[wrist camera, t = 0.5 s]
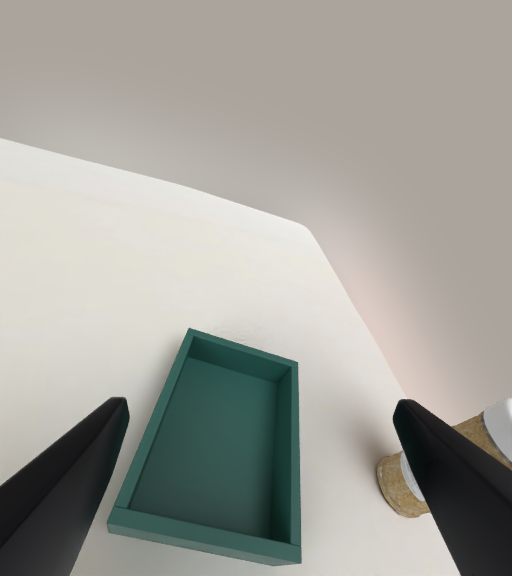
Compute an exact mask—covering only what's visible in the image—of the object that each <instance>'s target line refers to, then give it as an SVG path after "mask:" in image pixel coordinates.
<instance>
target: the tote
mask: <svg viewBox="0 0 512 576" xmlns="http://www.w3.org/2000/svg"><path fill="white" fill-rule="evenodd" d="M107 526H108V531H109V533H113V534H118V535H123V536H128V537H133V538H138V539H143V540H147V541H152V542H157V543H162V544H167V545H172V546H177V547H182V548H187V549H192V550H197V551H202V552H207V553H212V554H217V555H222V556H227V557H232V558H236V559H241V560H246V561H251V562H256V563H261V564H266V565H271V566H281V565H291V564H301V563H302V559H301V508H300V449H299V391H298V362H296V361H292V360H289V359H286V358H283V357H280V356H277V355H273V354H270V353H267V352H264V351H261V350H258V349H254V348H251V347H248V346H245V345H242V344H238V343H235V342H232V341H229V340H226V339H223V338H219V337H216V336H213V335H210V334H207V333H204V332H200V331H197V330H194V329H191V328H189V329H188V331H187V333H186V336H185V338H184V340H183V343H182V345H181V348H180V350H179V352H178V355H177V357H176V359H175V362H174V364H173V367H172V369H171V371H170V374H169V376H168V378H167V381H166V383H165V386H164V388H163V390H162V393H161V395H160V397H159V400H158V402H157V404H156V407H155V409H154V412H153V414H152V416H151V419H150V421H149V423H148V426H147V428H146V431H145V433H144V435H143V438H142V440H141V442H140V445H139V447H138V450H137V452H136V454H135V457H134V459H133V461H132V464H131V466H130V469H129V471H128V473H127V476H126V478H125V480H124V483H123V485H122V487H121V490H120V492H119V495H118V497H117V499H116V502H115V504H114V507H113V509H112V511H111V514H110V516H109V518H108V521H107Z"/></svg>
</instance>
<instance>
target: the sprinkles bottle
mask: <svg viewBox="0 0 512 576" xmlns="http://www.w3.org/2000/svg"><path fill="white" fill-rule="evenodd" d="M452 428H453V429H455V430H456V431H458V432H459V433H460V434H462V435H463V436H465V437H466V438H467V439H469V440H470V441H472V442H473V443H474V444H476V445H477V446H479V447H480V448H481V449H483V450H484V451H486V452H487V453H488V454H490V455H491V456H493V457H494V458H495V459H497V460H498V461H500V462H501V463H502V464H504V465H505V466H507V467H508V468H509V469H511V470H512V397H510V398H506V399H504V400H502V401H500V402H498V403H495V404H493V405H491V406H489V407H488V408H486V409H485V411H483V412H482V413H481V414H479V415H478V416H476V417H473V418H471V419H469V420H467V421H464V422H462V423H460V424H458V425H456V426H452ZM377 477H378V481H379V485H380V488H381V490H382V492H383V495H384V496H385V498H386V500H387V501H388V503H389V504H390V505H391V506H392V507H393V508H394V509H395V510H396V511H397V512H398V513H399V514H401V515H403V516H405V517H409V518H415V517H419V516H420V515H421V514H424V513H428V512H430V510H429V508H428V505H427V503H426V501H425V499H424V497H423V495H422V493H421V491H420V489H419V487H418V485H417V482H416V480H415V478H414V476H413V474H412V471H411V469H410V466H409V464H408V461H407V458H406V456H405V453H404V450H403V451H401V452H399V453H397V454H394V455H392V456H388V457H385V458H383V459H382V460H381V461H380V463H379V464H378V468H377Z"/></svg>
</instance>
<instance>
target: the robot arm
mask: <svg viewBox="0 0 512 576" xmlns="http://www.w3.org/2000/svg"><path fill="white" fill-rule="evenodd" d="M129 418H130V415H129V410H128V405H127V400H126V398H125V397H111V398H110V399H108V400H107V401H106V402H104V403H103V404H102V405H101V406H99V407H98V408H97V409H96V410H94V411H93V412H92V413H91V414H89V415H88V416H87V417H86V418H84V419H83V420H82V421H81V422H79V423H78V424H77V425H76V426H74V427H73V428H72V429H71V430H69V431H68V432H67V433H66V434H64V435H63V436H62V437H61V438H59V439H58V440H57V441H56V442H55V443H53V444H52V445H51V446H50V447H48V448H47V449H46V450H45V451H43V452H42V453H41V454H40V455H38V456H37V457H36V458H35V459H33V460H32V461H31V462H30V463H28V464H27V465H26V466H25V467H23V468H22V469H21V470H20V471H18V472H17V473H16V474H15V475H13V476H12V477H11V478H10V479H8V480H7V481H6V482H5V483H3V484H2V485H1V486H0V576H69V575H70V573H71V571H72V568H73V566H74V564H75V561H76V559H77V557H78V554H79V552H80V550H81V547H82V545H83V543H84V540H85V538H86V536H87V533H88V531H89V528H90V526H91V524H92V521H93V519H94V517H95V514H96V512H97V510H98V507H99V505H100V503H101V500H102V498H103V496H104V493H105V491H106V489H107V486H108V484H109V481H110V479H111V476H112V473H113V471H114V468H115V465H116V461H117V458H118V455H119V452H120V449H121V446H122V443H123V439H124V436H125V433H126V430H127V427H128V424H129ZM393 424H394V426H395V429H396V432H397V434H398V437H399V440H400V442H401V445H402V448H403V450H404V453H405V456H406V458H407V461H408V464H409V466H410V469H411V471H412V474H413V476H414V478H415V480H416V482H417V485H418V487H419V489H420V491H421V493H422V495H423V497H424V499H425V501H426V503H427V505H428V508H429V510H430V512H431V514H432V516H433V518H434V520H435V522H436V524H437V526H438V529H439V531H440V533H441V535H442V537H443V539H444V541H445V543H446V545H447V547H448V549H449V552H450V554H451V556H452V558H453V560H454V562H455V564H456V566H457V568H458V570H459V573H460V575H461V576H512V470H511V469H509V468H508V467H507V466H505V465H504V464H502V463H501V462H500V461H498V460H497V459H495V458H494V457H493V456H491V455H490V454H488V453H487V452H486V451H484V450H483V449H481V448H480V447H479V446H477V445H476V444H474V443H473V442H472V441H470V440H469V439H467V438H466V437H465V436H463V435H462V434H460V433H459V432H458V431H456V430H455V429H453V428H452V427H451V426H449V425H448V424H446V423H445V422H444V421H442V420H441V419H439V418H438V417H436V416H435V415H434V414H432V413H431V412H430V411H428V410H427V409H425V408H424V407H423V406H421V405H420V404H418V403H417V402H416V401H414V400H411V399H401V400H399V401H398V404H397V406H396V409H395V412H394V414H393Z"/></svg>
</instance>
